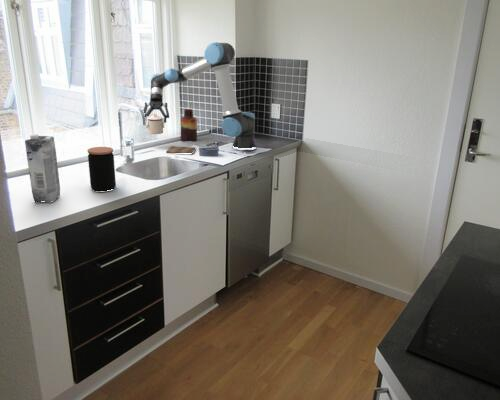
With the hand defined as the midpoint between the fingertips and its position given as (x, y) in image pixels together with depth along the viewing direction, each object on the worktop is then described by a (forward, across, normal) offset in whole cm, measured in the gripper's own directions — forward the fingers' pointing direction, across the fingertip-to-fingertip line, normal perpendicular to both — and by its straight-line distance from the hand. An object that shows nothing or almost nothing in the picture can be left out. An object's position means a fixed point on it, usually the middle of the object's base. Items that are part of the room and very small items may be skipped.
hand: (155, 126), depth 263 cm
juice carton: (+74, +36, +54) cm, 98 cm away
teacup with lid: (+1, +1, -5) cm, 6 cm away
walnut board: (+14, -16, -6) cm, 22 cm away
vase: (-9, -19, -28) cm, 35 cm away
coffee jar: (+64, +16, +44) cm, 79 cm away
